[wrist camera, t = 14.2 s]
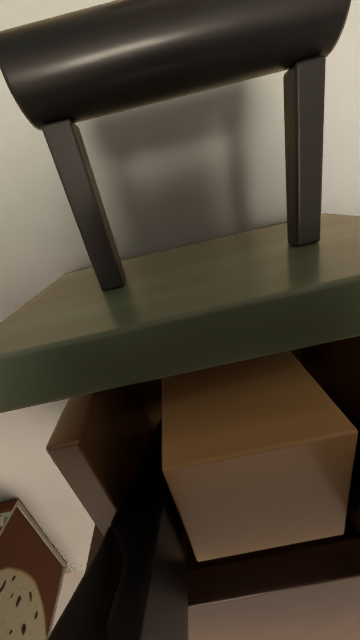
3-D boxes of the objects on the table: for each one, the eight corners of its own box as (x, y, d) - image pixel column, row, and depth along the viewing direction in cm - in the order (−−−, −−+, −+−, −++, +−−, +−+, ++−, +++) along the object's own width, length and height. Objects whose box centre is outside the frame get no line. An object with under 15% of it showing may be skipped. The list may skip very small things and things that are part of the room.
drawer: (-1, 122, 8) (-430, -84, 2) (333, 37, 7) (869, -473, 2) (143, 459, 15) (131, 619, 9) (318, 424, 15) (417, 567, 9)
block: (161, 358, 9) (161, 471, 5) (276, 333, 9) (359, 430, 5) (184, 437, 10) (197, 563, 7) (280, 417, 10) (345, 535, 7)
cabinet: (118, 410, 14) (72, 628, 7) (321, 367, 14) (497, 550, 7) (168, 526, 20) (172, 718, 12) (316, 498, 19) (409, 678, 12)
